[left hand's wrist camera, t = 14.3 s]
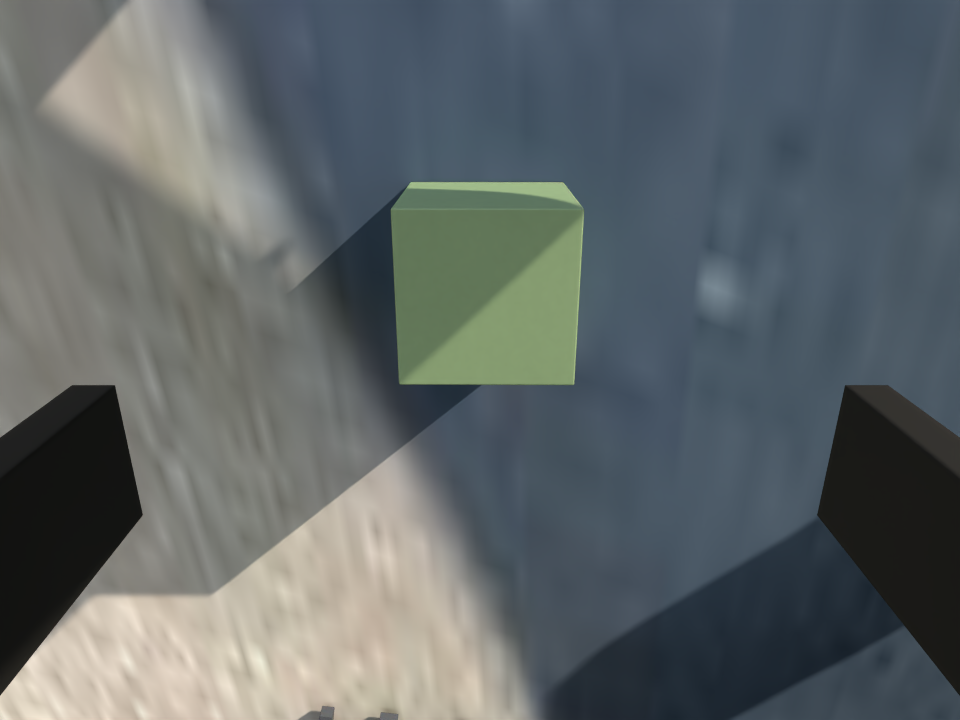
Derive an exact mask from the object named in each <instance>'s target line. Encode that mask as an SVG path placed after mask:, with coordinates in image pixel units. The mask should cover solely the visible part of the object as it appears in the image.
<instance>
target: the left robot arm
mask: <svg viewBox="0 0 960 720" xmlns="http://www.w3.org/2000/svg"><path fill="white" fill-rule="evenodd" d="M142 515H143V514H142V509H141V505H140V500H139V495H138V491H137V486H136V481H135V477H134V472H133V467H132V463H131V458H130V454H129V449H128V444H127V440H126V435H125V430H124V426H123V421H122V416H121V412H120V407H119V403H118V398H117V393H116V389H115V385H72V386H71V387H69V388H68V389H67V390H65V391H64V392H62V393H61V394H60V395H58V396H57V397H56V398H54V399H53V400H51V401H50V402H49V403H47V404H46V405H45V406H43V407H42V408H40V409H39V410H38V411H36V412H35V413H34V414H32V415H31V416H29V417H28V418H27V419H25V420H24V421H23V422H21V423H20V424H18V425H17V426H16V427H14V428H13V429H12V430H10V431H9V432H8V433H6V434H5V435H3V436H2V437H1V438H0V695H1V694H2V693H3V691H4V690H5V689H6V688H7V686H8V685H9V684H10V683H11V681H12V680H13V679H14V677H15V676H16V675H17V674H18V672H19V671H20V670H21V669H22V667H23V666H24V665H25V664H26V662H27V661H28V660H29V658H30V657H31V656H32V655H33V653H34V652H35V651H36V650H37V648H38V647H39V646H40V645H41V643H42V642H43V641H44V639H45V638H46V637H47V636H48V634H49V633H50V632H51V631H52V629H53V628H54V627H55V626H56V624H57V623H58V622H59V620H60V619H61V618H62V617H63V615H64V614H65V613H66V612H67V610H68V609H69V608H70V607H71V605H72V604H73V603H74V601H75V600H76V599H77V598H78V596H79V595H80V594H81V593H82V591H83V590H84V589H85V588H86V586H87V585H88V584H89V582H90V581H91V580H92V579H93V577H94V576H95V575H96V574H97V572H98V571H99V570H100V569H101V567H102V566H103V565H104V564H105V562H106V561H107V560H108V558H109V557H110V556H111V555H112V553H113V552H114V551H115V550H116V548H117V547H118V546H119V545H120V543H121V542H122V541H123V539H124V538H125V537H126V536H127V534H128V533H129V532H130V531H131V529H132V528H133V527H134V526H135V524H136V523H137V522H138V520H139V519H140V518H141V517H142ZM817 515H818V517H819V518H820V519H821V520H822V522H823V523H824V524H825V526H826V527H827V528H828V529H829V531H830V532H831V533H832V534H833V536H834V537H835V538H836V539H837V541H838V542H839V543H840V545H841V546H842V547H843V548H844V550H845V551H846V552H847V553H848V555H849V556H850V557H851V558H852V560H853V561H854V562H855V564H856V565H857V566H858V567H859V569H860V570H861V571H862V572H863V574H864V575H865V576H866V577H867V579H868V580H869V581H870V583H871V584H872V585H873V586H874V588H875V589H876V590H877V591H878V593H879V594H880V595H881V596H882V598H883V599H884V600H885V601H886V603H887V604H888V605H889V607H890V608H891V609H892V610H893V612H894V613H895V614H896V615H897V617H898V618H899V619H900V620H901V622H902V623H903V624H904V626H905V627H906V628H907V629H908V631H909V632H910V633H911V634H912V636H913V637H914V638H915V639H916V641H917V642H918V643H919V645H920V646H921V647H922V648H923V650H924V651H925V652H926V653H927V655H928V656H929V657H930V658H931V660H932V661H933V662H934V664H935V665H936V666H937V667H938V669H939V670H940V671H941V672H942V674H943V675H944V676H945V677H946V679H947V680H948V681H949V683H950V684H951V685H952V686H953V688H954V689H955V690H956V691H957V693H958V694H959V695H960V438H959V437H958V436H957V435H955V434H954V433H952V432H951V431H950V430H948V429H947V428H946V427H944V426H943V425H942V424H940V423H939V422H937V421H936V420H935V419H933V418H932V417H931V416H929V415H928V414H926V413H925V412H924V411H922V410H921V409H920V408H918V407H917V406H915V405H914V404H913V403H911V402H910V401H909V400H907V399H906V398H904V397H903V396H902V395H900V394H899V393H898V392H896V391H895V390H893V389H892V388H891V387H889V386H888V385H845V389H844V393H843V398H842V403H841V407H840V412H839V416H838V421H837V426H836V430H835V435H834V440H833V444H832V449H831V454H830V458H829V463H828V467H827V472H826V477H825V481H824V486H823V491H822V495H821V500H820V505H819V509H818V514H817Z"/></svg>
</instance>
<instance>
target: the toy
mask: <svg viewBox="0 0 960 720" xmlns="http://www.w3.org/2000/svg"><path fill="white" fill-rule="evenodd" d="M333 717H334V707H326V706H322V710H321V714H320V720H333ZM380 720H398V714H391V713H382V712H381V715H380Z"/></svg>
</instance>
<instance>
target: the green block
mask: <svg viewBox="0 0 960 720" xmlns="http://www.w3.org/2000/svg"><path fill="white" fill-rule="evenodd" d="M583 219H584V209H583V208H582V206H581V205H580V204H579V202H578V201H577V200H576V199H575V197H574V196H573V195H572V193H571V192H570V191H569V190H568V188H567V187H566V186H565V184H564V183H563V182H411V183H410V184H409V185H408V187H407V188H406V189H405V191H404V192H403V193H402V195H401V196H400V197H399V199H398V200H397V202H396V203H395V204H394V206H393V207H392V208H391V224H392V245H393V265H394V286H395V307H396V327H397V348H398V368H399V384H401V385H574V376H575V359H576V341H577V324H578V306H579V289H580V271H581V254H582V236H583Z"/></svg>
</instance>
